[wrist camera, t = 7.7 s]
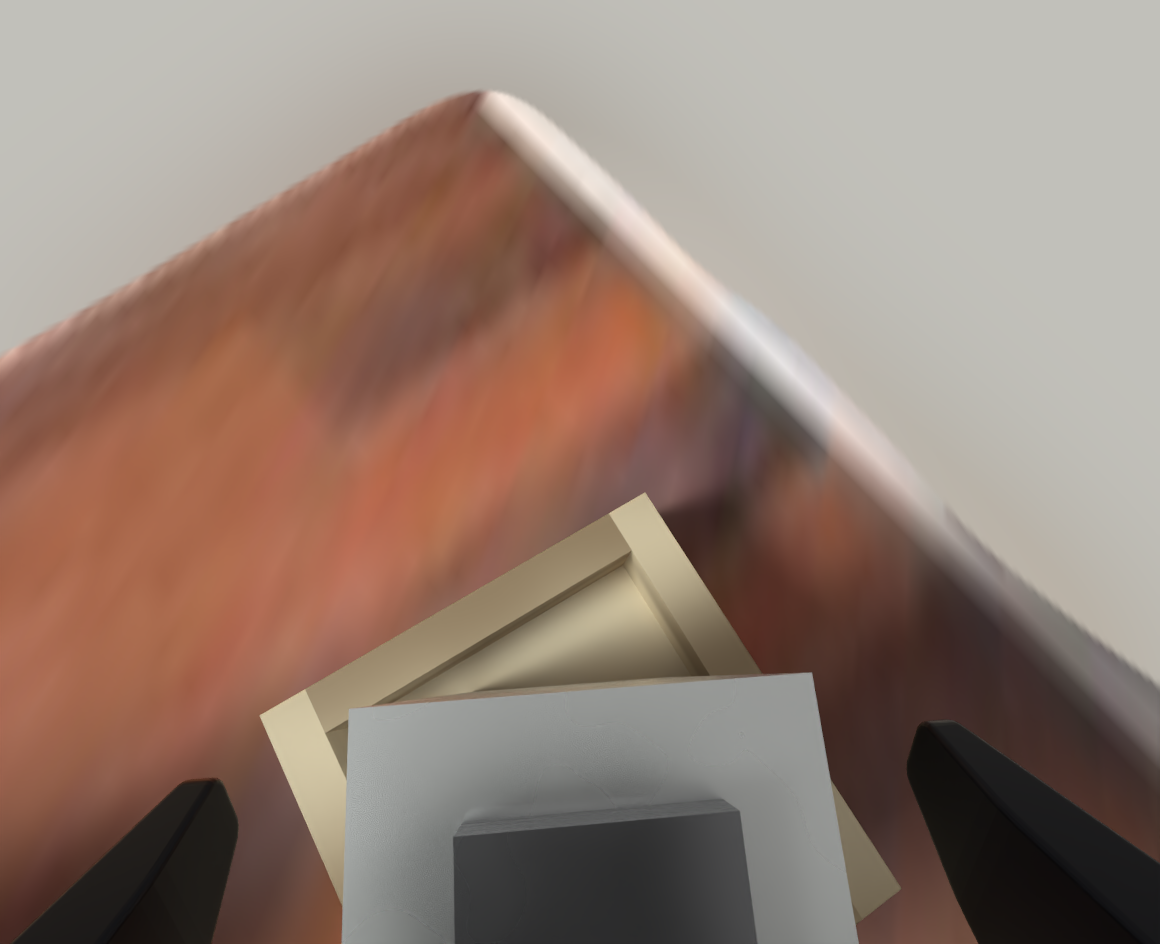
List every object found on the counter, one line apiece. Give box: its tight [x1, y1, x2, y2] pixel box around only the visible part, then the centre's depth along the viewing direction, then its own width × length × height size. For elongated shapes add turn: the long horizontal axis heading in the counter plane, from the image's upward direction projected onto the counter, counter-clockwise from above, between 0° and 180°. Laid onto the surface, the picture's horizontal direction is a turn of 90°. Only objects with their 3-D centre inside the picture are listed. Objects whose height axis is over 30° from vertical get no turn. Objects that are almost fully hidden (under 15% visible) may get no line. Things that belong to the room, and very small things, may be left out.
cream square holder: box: [260, 493, 901, 925], centre depth 15 cm, size 10×10×3 cm
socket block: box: [342, 672, 859, 944], centre depth 10 cm, size 4×4×11 cm
